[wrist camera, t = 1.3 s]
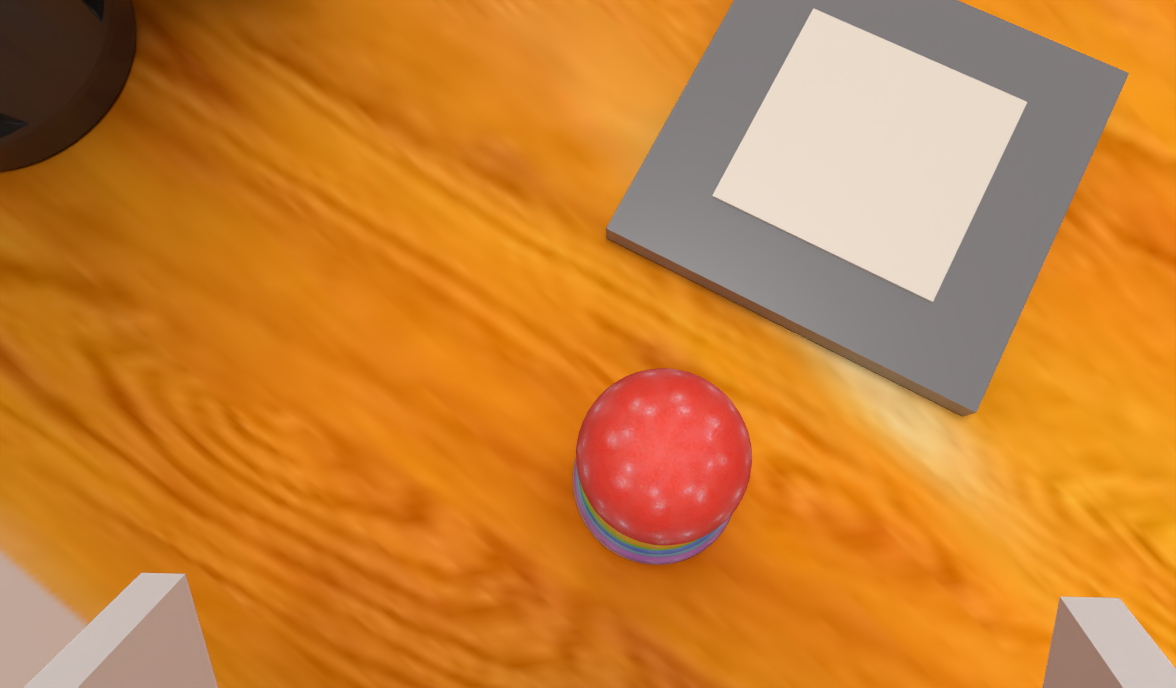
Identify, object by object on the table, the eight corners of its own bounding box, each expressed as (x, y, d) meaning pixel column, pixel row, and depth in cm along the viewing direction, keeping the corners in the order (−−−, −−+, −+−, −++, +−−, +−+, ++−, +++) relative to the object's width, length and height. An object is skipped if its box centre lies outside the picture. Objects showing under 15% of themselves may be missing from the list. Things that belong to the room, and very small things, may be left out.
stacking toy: (723, 392, 39) (814, 294, 21) (743, 555, 37) (862, 605, 19) (567, 407, 39) (521, 322, 21) (581, 569, 38) (544, 632, 19)
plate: (606, 238, 41) (606, 226, 39) (771, -57, 44) (777, -79, 42) (962, 416, 38) (977, 412, 37) (1110, 88, 41) (1131, 71, 40)
